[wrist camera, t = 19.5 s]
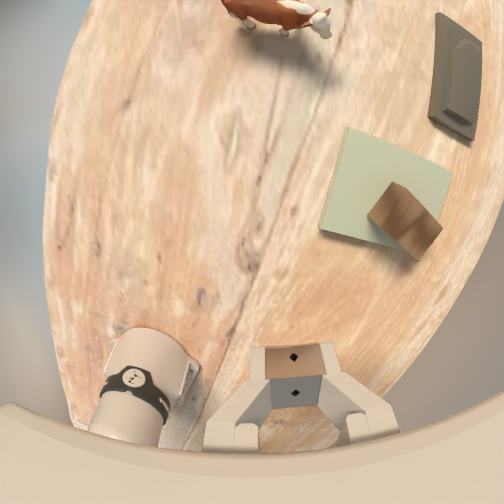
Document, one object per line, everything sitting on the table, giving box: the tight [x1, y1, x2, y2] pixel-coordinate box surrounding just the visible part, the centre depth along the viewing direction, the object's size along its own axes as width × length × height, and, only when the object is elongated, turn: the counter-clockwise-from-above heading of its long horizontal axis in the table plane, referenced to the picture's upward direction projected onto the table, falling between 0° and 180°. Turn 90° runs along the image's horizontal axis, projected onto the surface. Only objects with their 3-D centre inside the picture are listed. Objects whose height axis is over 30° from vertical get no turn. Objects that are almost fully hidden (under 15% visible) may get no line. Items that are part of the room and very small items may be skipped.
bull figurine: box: [221, 0, 332, 39], centre depth 23 cm, size 4×13×8 cm, turn 69°
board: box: [318, 127, 452, 255], centre depth 35 cm, size 14×18×2 cm
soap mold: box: [428, 12, 482, 141], centre depth 26 cm, size 10×20×4 cm, turn 169°
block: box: [367, 181, 443, 261], centre depth 33 cm, size 6×4×9 cm
